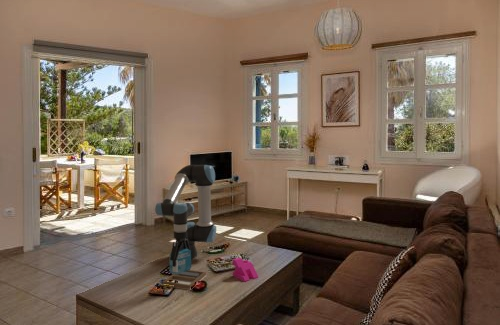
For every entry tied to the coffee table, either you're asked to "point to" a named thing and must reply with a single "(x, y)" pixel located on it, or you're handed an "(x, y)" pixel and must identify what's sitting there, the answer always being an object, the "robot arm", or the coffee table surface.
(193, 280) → the slot board
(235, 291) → the coffee table surface
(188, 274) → the rubber bar
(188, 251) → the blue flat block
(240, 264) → the pink plastic figure
